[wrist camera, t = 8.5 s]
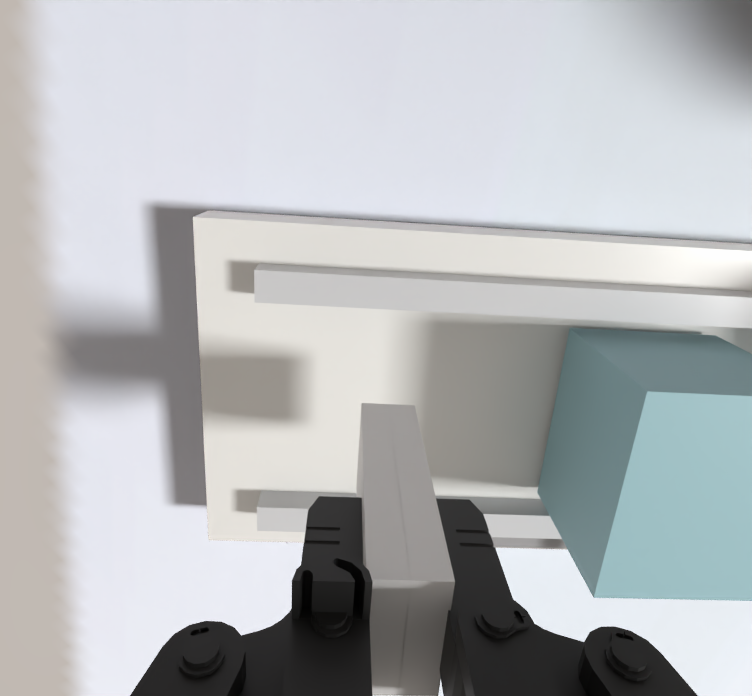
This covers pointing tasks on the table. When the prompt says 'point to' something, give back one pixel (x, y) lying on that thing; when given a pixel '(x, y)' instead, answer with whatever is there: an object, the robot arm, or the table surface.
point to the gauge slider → (653, 464)
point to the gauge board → (418, 351)
